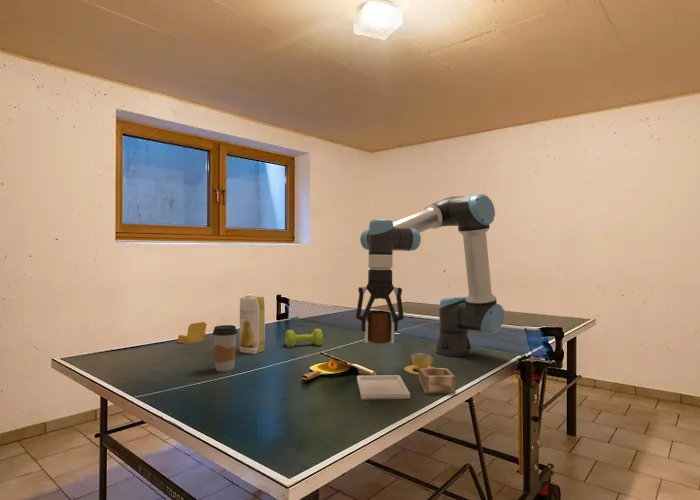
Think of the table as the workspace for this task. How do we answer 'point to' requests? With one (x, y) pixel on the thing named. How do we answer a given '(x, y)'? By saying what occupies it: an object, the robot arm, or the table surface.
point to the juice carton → (252, 324)
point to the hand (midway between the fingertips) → (379, 341)
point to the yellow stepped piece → (194, 333)
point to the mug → (379, 326)
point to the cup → (419, 363)
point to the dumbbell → (304, 337)
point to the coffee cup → (224, 347)
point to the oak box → (436, 380)
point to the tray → (382, 387)
